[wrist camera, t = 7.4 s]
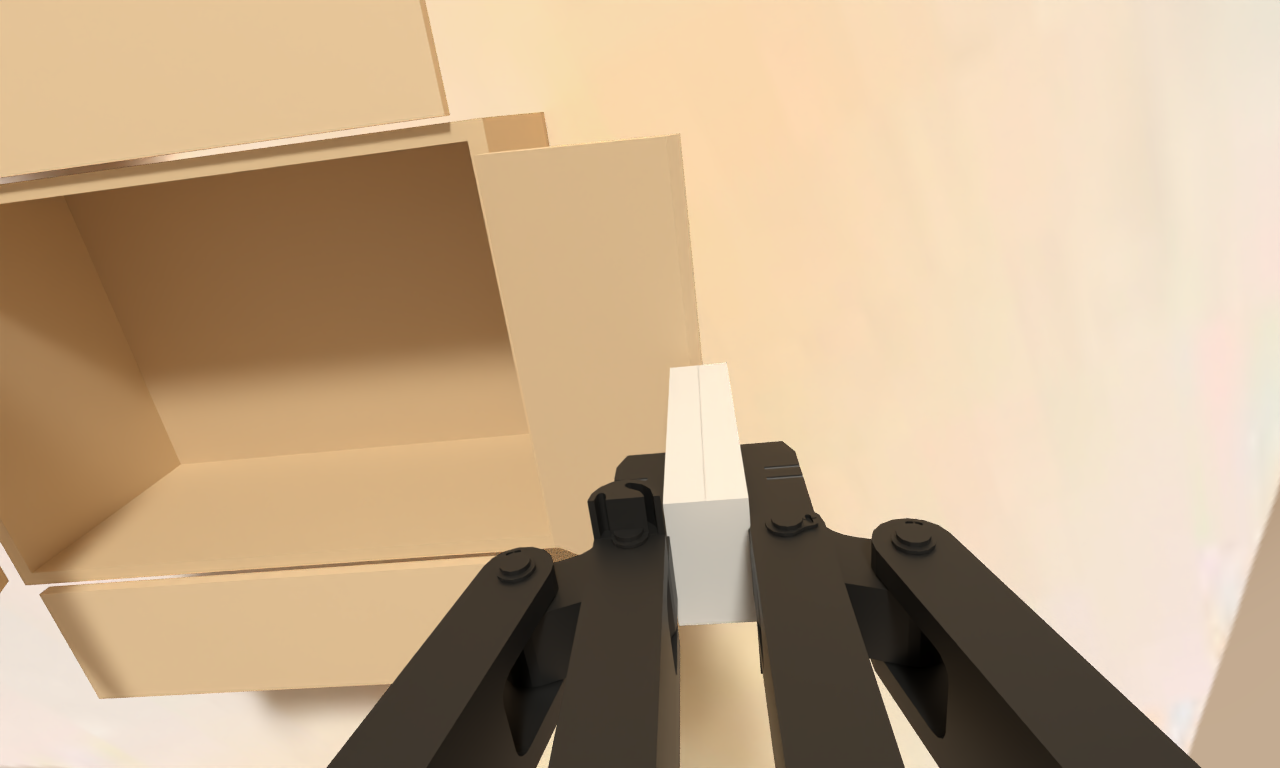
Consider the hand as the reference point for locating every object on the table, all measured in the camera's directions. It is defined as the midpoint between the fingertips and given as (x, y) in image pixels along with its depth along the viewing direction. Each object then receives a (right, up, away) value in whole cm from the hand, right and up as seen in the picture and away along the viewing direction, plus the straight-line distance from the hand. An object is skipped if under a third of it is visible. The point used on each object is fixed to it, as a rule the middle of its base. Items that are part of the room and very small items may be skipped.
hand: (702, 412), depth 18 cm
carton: (-17, +4, +16) cm, 24 cm away
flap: (-6, +1, +5) cm, 8 cm away
